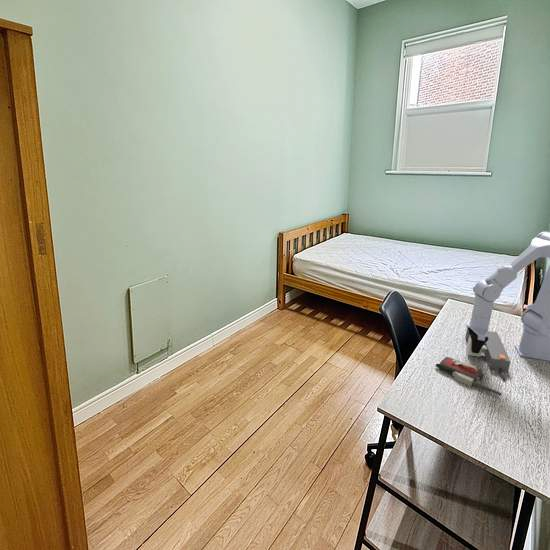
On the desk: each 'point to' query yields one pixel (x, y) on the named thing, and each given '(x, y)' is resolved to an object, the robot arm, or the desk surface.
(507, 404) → the desk surface
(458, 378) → the walkie-talkie
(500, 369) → the grey slotted block
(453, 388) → the desk surface
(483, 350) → the block
